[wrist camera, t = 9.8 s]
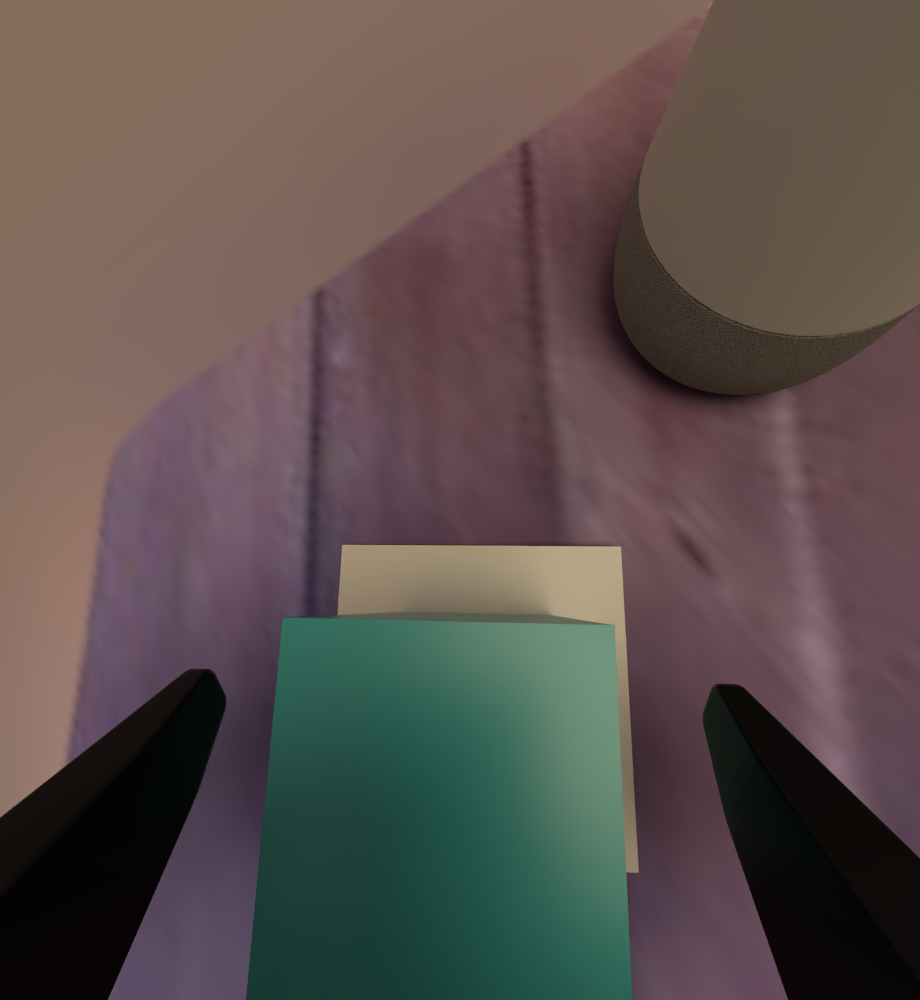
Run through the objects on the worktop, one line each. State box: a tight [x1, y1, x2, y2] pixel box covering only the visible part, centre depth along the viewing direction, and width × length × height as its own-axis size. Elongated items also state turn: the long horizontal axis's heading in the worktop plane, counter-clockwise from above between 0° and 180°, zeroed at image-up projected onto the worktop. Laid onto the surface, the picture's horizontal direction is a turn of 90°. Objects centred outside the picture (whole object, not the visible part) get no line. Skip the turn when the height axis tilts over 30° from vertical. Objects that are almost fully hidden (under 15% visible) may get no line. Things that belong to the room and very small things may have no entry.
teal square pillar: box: [246, 612, 632, 1000], centre depth 12 cm, size 5×5×10 cm
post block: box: [338, 545, 639, 873], centre depth 15 cm, size 10×10×5 cm
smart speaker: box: [613, 0, 920, 395], centre depth 13 cm, size 10×9×14 cm
